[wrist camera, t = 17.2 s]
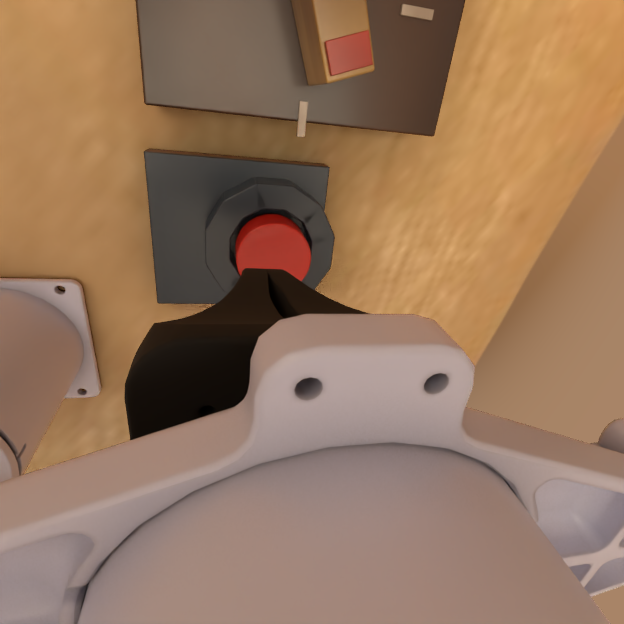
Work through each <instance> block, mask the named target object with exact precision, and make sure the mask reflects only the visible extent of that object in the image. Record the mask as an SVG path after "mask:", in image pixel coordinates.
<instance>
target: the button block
mask: <svg viewBox="0 0 624 624" xmlns="http://www.w3.org/2000/svg"><path fill="white" fill-rule="evenodd" d="M144 158H145V169H146V180H147V191H148V202H149V213H150V224H151V235H152V246H153V257H154V269H155V280H156V291H157V302H158V303H172V304H217V303H218V302H219V301H221V300H222V299H223V298H224V297H225V296H226V295H227V294H228V293H229V292H230V291H231V290H232V288H233V287H234V286H235V284H236V283H237V282H238V280H239V278H240V277H241V276H240V274H239V272H238V269H237V264H236V252H235V244H236V239H237V236H238V234H239V232H240V230H241V229H242V227H243V226H244V225H245V224H246V223H247V222H249V221H250V220H251V219H253V218H255V217H257V216H260V215H264V214H278V215H282V216H284V217H287V218H288V219H290V220H292V221H293V222H294V223H295V224H296V225H297V226H298V227H299V229H300V230H301V232H302V233H303V235H304V237H305V239H306V240H307V242H308V244H309V247H310V251H311V263H310V267H309V270H308V272H307V274H306V276H305V277H304V279H303V280H302V281H301V282H303V283H304V284H306V285H307V286H309V287H310V288H312V289H313V290H315V288H316V287H317V285H318V284H319V283H320V281H321V280H322V279H323V277H324V276H325V275H326V273H327V272H328V271H329V269H330V267H331V261H332V253H333V246H334V239H335V237H334V233H333V231H332V229H331V226H330V224H329V221H328V219H327V217H326V214H325V212H324V210H325V202H326V193H327V185H328V177H329V167H328V166H326V165H325V164H320V163H308V162H297V161H285V160H274V159H263V158H251V157H240V156H228V155H217V154H205V153H194V152H182V151H171V150H160V149H147V150H146V151H144Z"/></svg>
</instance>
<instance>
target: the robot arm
mask: <svg viewBox="0 0 624 624" xmlns="http://www.w3.org/2000/svg"><path fill="white" fill-rule="evenodd" d="M57 286H62V287H64V288H65V290H66V291H64V292H63V291H60V290H59V289H58V288H57ZM474 370H475V366H474V364H473V363H472V362H471V360H470V359H469V358H468V356H467V355H466V353H465V352H464V351H463V350H462V348H461V347H460V346H459V345H458V344H457V343H456V342H455V341H454V340H453V339H452V338H451V337H450V336H449V335H448V334H447V333H446V332H445V331H444V330H443V329H442V328H441V326H440V325H439V324H438V323H437V322H436V321H435V320H432V319H429V318H425V317H421V316H418V315H414V314H369V313H366V312H362V311H359V310H356V309H353V308H350V307H347V306H345V305H343V304H340V303H338V302H336V301H333V300H331V299H329V298H327V297H325V296H324V295H322V294H320V293H318V292H317V291H315V290H313V289H312V288H310V287H309V286H307V285H306V284H304V283H303V282H301V281H300V280H298V279H297V278H295V277H294V276H293V275H291V274H290V273H288V272H287V271H285V270H283V269H259V268H245V269H244V270H243V271H242V274H241V277H240V278H239V280H238V282H237V283H236V284H235V286H234V287H233V288H232V290H231V291H230V292H229V293H228V294H227V295H226V296H225V297H224V298H223V299H222V300H221V301H219V302H218V303H217V304H215V305H213V306H212V307H210V308H208V309H206V310H204V311H202V312H200V313H197V314H195V315H192V316H189V317H185V318H182V319H178V320H172V321H167V322H161V323H154V324H153V326H152V327H151V329H150V330H149V332H148V333H147V335H146V337H145V338H144V340H143V342H142V343H141V345H140V347H139V348H138V350H137V352H136V355H135V357H134V359H133V362H132V365H131V368H130V371H129V374H128V377H127V380H126V383H125V404H126V411H127V418H128V425H129V433H130V441H127V442H124V443H120V444H117V445H114V446H111V447H108V448H105V449H102V450H99V451H96V452H92V453H89V454H86V455H83V456H80V457H77V458H74V459H71V460H68V461H64V462H61V463H58V464H55V465H52V466H49V467H46V468H43V469H40V470H37V471H33V472H30V473H27V474H24V472H25V470H26V468H27V467H28V465H29V463H30V461H31V459H32V457H33V455H34V453H35V452H36V450H37V448H38V446H39V444H40V442H41V440H42V438H43V437H44V435H45V433H46V431H47V429H48V427H49V425H50V424H51V422H52V420H53V418H54V416H55V414H56V412H57V410H58V409H59V407H60V405H61V403H62V401H63V399H64V398H84V397H96V396H97V395H99V393H100V391H101V384H100V379H99V373H98V368H97V363H96V357H95V352H94V347H93V341H92V336H91V331H90V325H89V320H88V315H87V309H86V304H85V299H84V293H83V288H82V285H81V284H80V283H79V282H78V281H76V280H72V279H22V278H0V624H610V622H609V621H608V619H607V618H606V617H605V615H604V614H603V613H602V611H601V610H600V609H599V607H598V606H597V605H596V603H595V602H594V600H593V599H592V598H591V597H592V596H595V595H597V594H600V593H603V592H606V591H609V590H611V589H614V588H617V587H620V586H623V585H624V418H620V419H617V420H614V421H612V422H611V423H609V424H608V425H607V426H606V427H605V429H604V430H603V432H602V433H601V436H600V438H599V441H598V443H586V442H583V441H579V440H576V439H572V438H569V437H566V436H562V435H559V434H556V433H552V432H549V431H546V430H542V429H539V428H536V427H532V426H529V425H526V424H522V423H519V422H515V421H512V420H509V419H505V418H502V417H499V416H495V415H492V414H489V413H485V412H482V411H479V410H475V409H471V408H468V407H466V404H467V401H468V399H469V396H470V394H471V391H472V388H473V381H474ZM81 388H82V389H85V390H86V391H82V390H80V389H81ZM23 474H24V475H23Z"/></svg>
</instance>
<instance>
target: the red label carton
mask: <svg viewBox="0 0 624 624" xmlns="http://www.w3.org/2000/svg"><path fill="white" fill-rule="evenodd" d="M291 3H292V7H293V12H294V17H295V22H296V27H297V32H298V37H299V42H300V47H301V52H302V57H303V62H304V67H305V72H306V77H307V82H308V85H309V86H315V85H322V84H329V83H332V82H336V81H340V80H343V79H347V78H351V77H354V76H358V75H362V74H366V73H369V72H373V71H374V69H375V67H374V59H373V50H372V42H371V34H370V26H369V18H368V10H367V1H366V0H291Z"/></svg>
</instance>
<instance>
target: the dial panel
mask: <svg viewBox="0 0 624 624" xmlns="http://www.w3.org/2000/svg"><path fill="white" fill-rule="evenodd" d="M366 1H367V10H368V18H369V26H370V34H371V42H372V50H373V59H374V67H375V69H374V71H373V72H369V73H366V74H362V75H358V76H354V77H351V78H347V79H343V80H340V81H336V82H332V83H329V84H322V85H315V86H309V85H308V82H307V77H306V72H305V67H304V62H303V57H302V52H301V47H300V42H299V37H298V32H297V27H296V22H295V17H294V12H293V7H292V3H291V0H136V10H137V22H138V34H139V45H140V57H141V69H142V81H143V92H144V102H145V104H146V105H154V106H163V107H172V108H181V109H190V110H199V111H208V112H217V113H226V114H235V115H244V116H253V117H262V118H271V119H280V120H289V121H298V124H297V137H305V130H306V122H307V123H316V124H325V125H334V126H343V127H352V128H361V129H370V130H379V131H388V132H397V133H406V134H415V135H424V136H434V134H435V129H436V125H437V121H438V116H439V112H440V108H441V103H442V99H443V95H444V90H445V86H446V82H447V77H448V73H449V69H450V64H451V60H452V56H453V51H454V47H455V43H456V38H457V34H458V30H459V25H460V21H461V17H462V12H463V8H464V3H465V0H366Z"/></svg>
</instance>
